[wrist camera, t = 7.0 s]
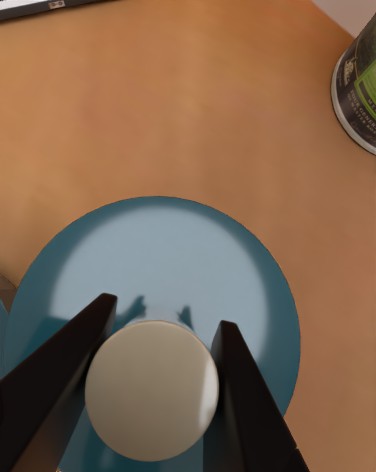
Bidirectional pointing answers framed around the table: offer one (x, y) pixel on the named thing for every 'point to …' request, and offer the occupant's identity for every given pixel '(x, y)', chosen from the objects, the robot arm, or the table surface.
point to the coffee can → (357, 88)
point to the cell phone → (33, 6)
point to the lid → (156, 326)
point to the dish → (4, 316)
